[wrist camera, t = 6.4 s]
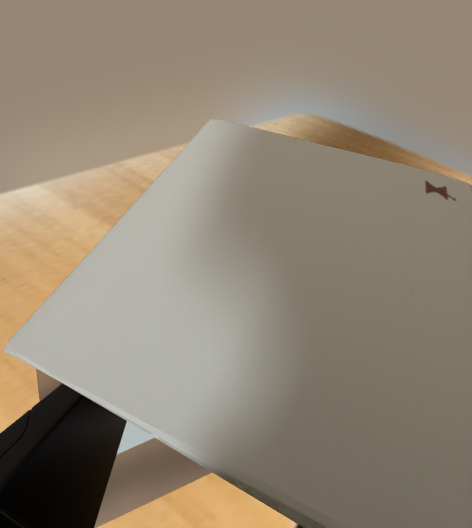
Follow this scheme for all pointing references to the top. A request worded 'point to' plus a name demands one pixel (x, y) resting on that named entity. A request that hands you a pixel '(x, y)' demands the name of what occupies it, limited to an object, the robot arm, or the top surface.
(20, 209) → the top surface
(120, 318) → the supplement box
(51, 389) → the plinth
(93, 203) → the top surface
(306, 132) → the top surface
